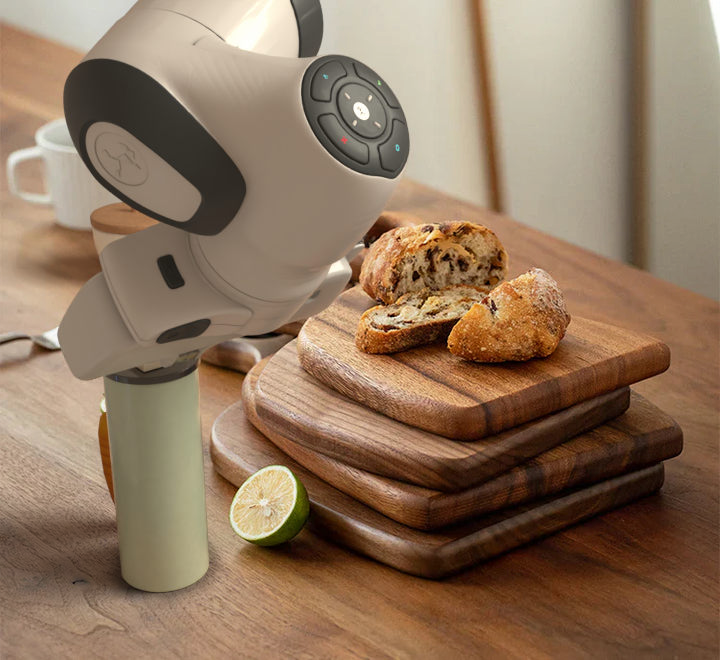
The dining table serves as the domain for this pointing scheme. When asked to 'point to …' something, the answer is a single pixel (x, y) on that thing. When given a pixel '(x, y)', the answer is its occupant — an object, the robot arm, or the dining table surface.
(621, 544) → the dining table surface
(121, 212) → the lidded bowl
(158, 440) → the travel cup
